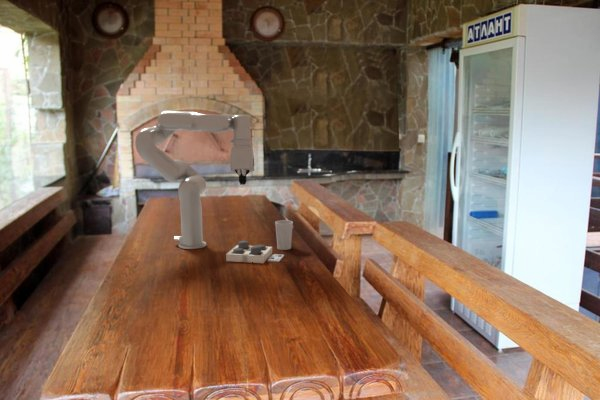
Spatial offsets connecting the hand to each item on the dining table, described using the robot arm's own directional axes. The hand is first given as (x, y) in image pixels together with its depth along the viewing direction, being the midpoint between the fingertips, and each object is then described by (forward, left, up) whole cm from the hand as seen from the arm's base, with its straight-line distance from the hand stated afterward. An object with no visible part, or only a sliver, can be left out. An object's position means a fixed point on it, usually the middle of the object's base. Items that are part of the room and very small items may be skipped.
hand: (242, 184), depth 254 cm
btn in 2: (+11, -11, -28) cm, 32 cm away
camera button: (+3, -18, -28) cm, 34 cm away
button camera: (+11, -18, -27) cm, 34 cm away
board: (+7, -14, -29) cm, 33 cm away
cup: (+18, +3, -29) cm, 35 cm away
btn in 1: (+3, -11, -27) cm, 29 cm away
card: (+19, -14, -29) cm, 37 cm away
